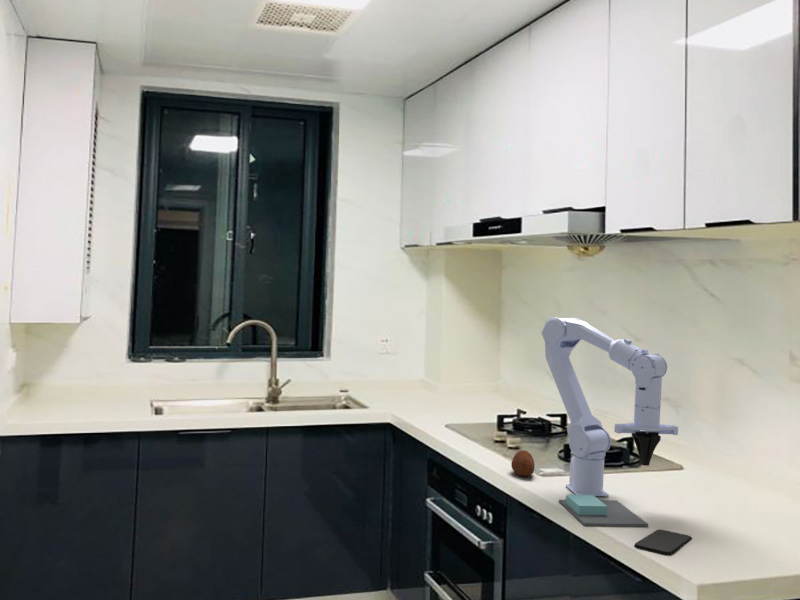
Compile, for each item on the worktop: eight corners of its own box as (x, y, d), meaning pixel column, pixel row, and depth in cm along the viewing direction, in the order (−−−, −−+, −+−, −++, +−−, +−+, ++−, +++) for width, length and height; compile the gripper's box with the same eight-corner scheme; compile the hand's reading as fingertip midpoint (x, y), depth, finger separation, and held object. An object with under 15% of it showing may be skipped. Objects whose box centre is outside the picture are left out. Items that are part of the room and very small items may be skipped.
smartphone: (693, 536, 161) (670, 553, 149) (693, 540, 161) (670, 557, 149) (657, 528, 165) (632, 544, 153) (657, 532, 165) (632, 548, 153)
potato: (517, 480, 203) (518, 455, 203) (506, 469, 215) (507, 446, 215) (539, 480, 204) (541, 455, 204) (527, 469, 216) (528, 446, 215)
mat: (558, 502, 184) (559, 499, 184) (616, 503, 185) (616, 500, 185) (584, 525, 166) (584, 523, 166) (648, 526, 167) (648, 524, 167)
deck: (592, 503, 181) (565, 503, 181) (593, 495, 181) (566, 494, 181) (606, 515, 172) (578, 515, 172) (607, 506, 172) (578, 505, 172)
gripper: (623, 408, 177) (620, 468, 178) (685, 410, 179) (682, 469, 179) (612, 403, 185) (609, 460, 185) (671, 405, 186) (668, 462, 186)
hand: (644, 464), depth 182 cm, fingers closed
